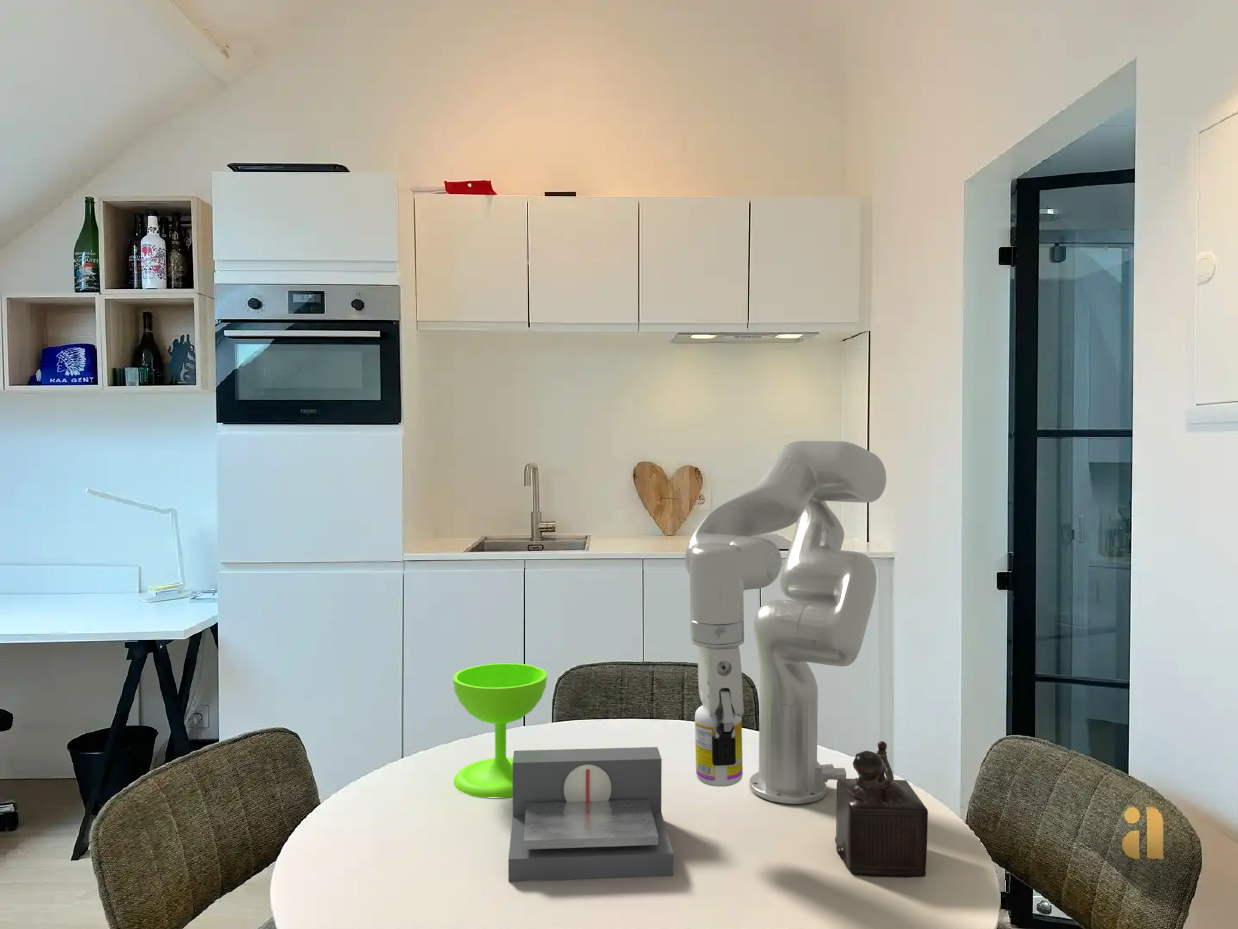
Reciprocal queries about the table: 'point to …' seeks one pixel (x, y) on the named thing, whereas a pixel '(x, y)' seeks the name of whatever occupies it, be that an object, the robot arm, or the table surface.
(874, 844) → the manual coffee grinder
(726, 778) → the supplement bottle
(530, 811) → the pan
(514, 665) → the wineglass
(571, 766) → the scale
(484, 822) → the table surface
